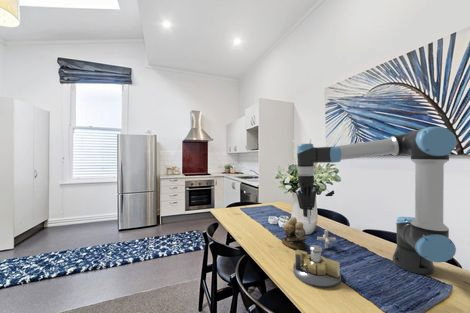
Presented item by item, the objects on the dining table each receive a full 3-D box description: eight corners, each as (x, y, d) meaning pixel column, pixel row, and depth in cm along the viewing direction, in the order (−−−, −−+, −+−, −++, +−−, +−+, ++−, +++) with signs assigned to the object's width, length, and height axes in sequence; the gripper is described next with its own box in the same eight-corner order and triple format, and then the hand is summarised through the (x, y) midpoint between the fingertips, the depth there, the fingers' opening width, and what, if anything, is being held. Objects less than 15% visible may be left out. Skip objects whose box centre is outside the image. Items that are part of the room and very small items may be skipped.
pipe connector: (338, 252, 114) (338, 234, 114) (319, 250, 116) (318, 233, 116) (333, 244, 123) (333, 228, 123) (315, 243, 125) (315, 227, 125)
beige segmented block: (342, 271, 91) (341, 258, 91) (335, 281, 83) (335, 268, 83) (300, 257, 103) (300, 246, 103) (291, 265, 96) (291, 253, 96)
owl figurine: (313, 248, 119) (313, 219, 119) (298, 253, 113) (298, 222, 113) (291, 237, 135) (290, 211, 135) (277, 241, 129) (276, 214, 129)
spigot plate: (349, 275, 91) (349, 248, 91) (325, 294, 79) (325, 263, 79) (309, 258, 107) (308, 235, 107) (284, 272, 95) (284, 246, 95)
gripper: (309, 173, 107) (311, 218, 107) (290, 175, 102) (292, 223, 102) (321, 174, 101) (323, 222, 101) (301, 176, 95) (303, 227, 95)
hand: (307, 222), depth 101 cm, fingers closed
